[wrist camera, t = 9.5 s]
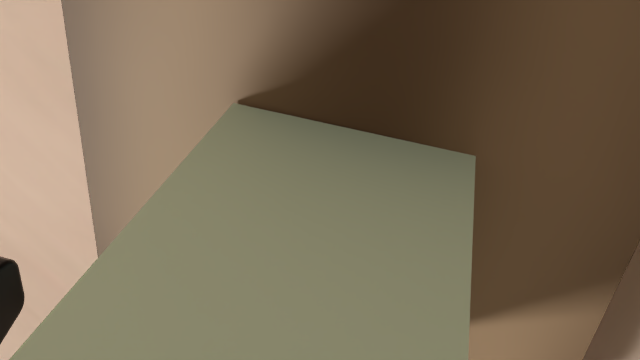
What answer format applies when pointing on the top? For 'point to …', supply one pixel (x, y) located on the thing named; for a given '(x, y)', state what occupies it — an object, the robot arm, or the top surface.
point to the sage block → (283, 254)
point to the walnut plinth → (400, 124)
